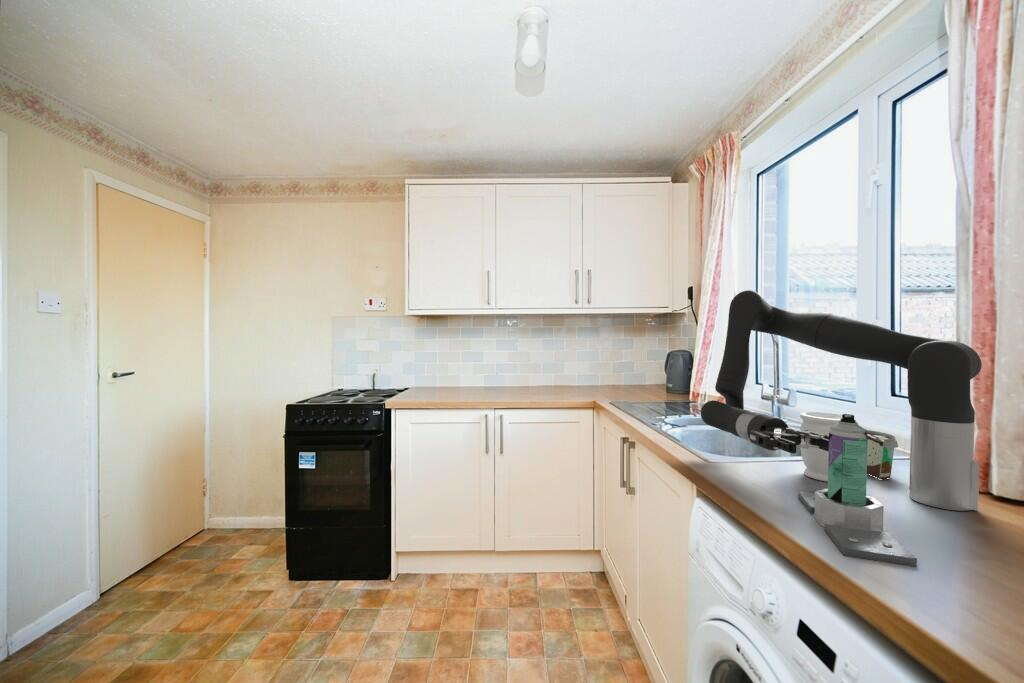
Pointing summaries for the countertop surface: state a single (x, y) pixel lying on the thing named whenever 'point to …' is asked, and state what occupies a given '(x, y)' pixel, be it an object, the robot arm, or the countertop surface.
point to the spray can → (847, 462)
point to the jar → (814, 456)
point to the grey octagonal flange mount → (857, 528)
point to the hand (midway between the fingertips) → (815, 448)
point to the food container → (880, 453)
